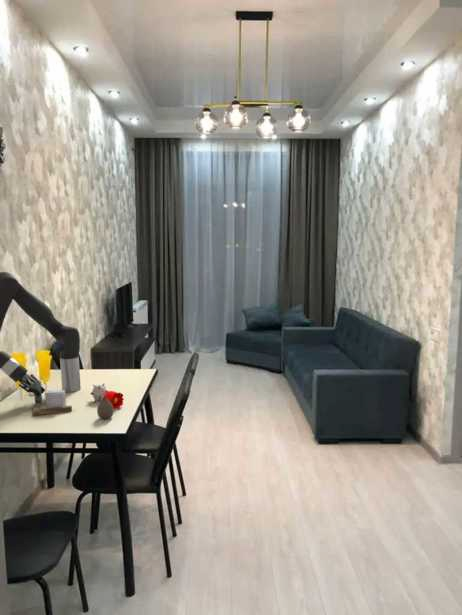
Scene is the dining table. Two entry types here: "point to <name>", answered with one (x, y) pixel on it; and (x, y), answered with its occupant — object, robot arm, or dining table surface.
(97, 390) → the grey spiky ball
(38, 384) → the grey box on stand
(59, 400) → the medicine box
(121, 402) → the flower
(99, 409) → the grey rounded lump
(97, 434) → the dining table surface
